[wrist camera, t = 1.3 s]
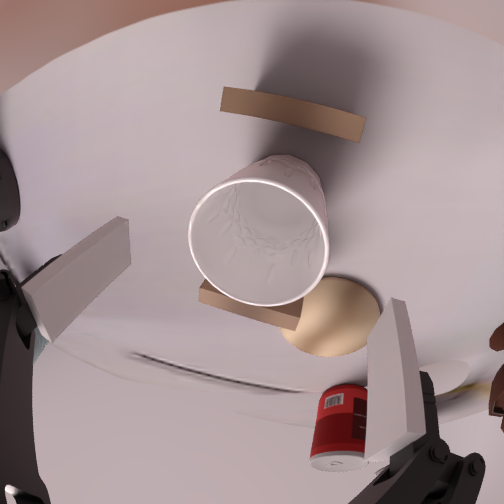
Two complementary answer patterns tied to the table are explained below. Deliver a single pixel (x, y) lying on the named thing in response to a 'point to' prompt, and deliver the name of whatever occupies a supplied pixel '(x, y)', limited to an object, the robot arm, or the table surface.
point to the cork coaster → (334, 318)
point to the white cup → (263, 232)
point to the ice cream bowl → (497, 378)
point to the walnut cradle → (296, 115)
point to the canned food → (340, 429)
